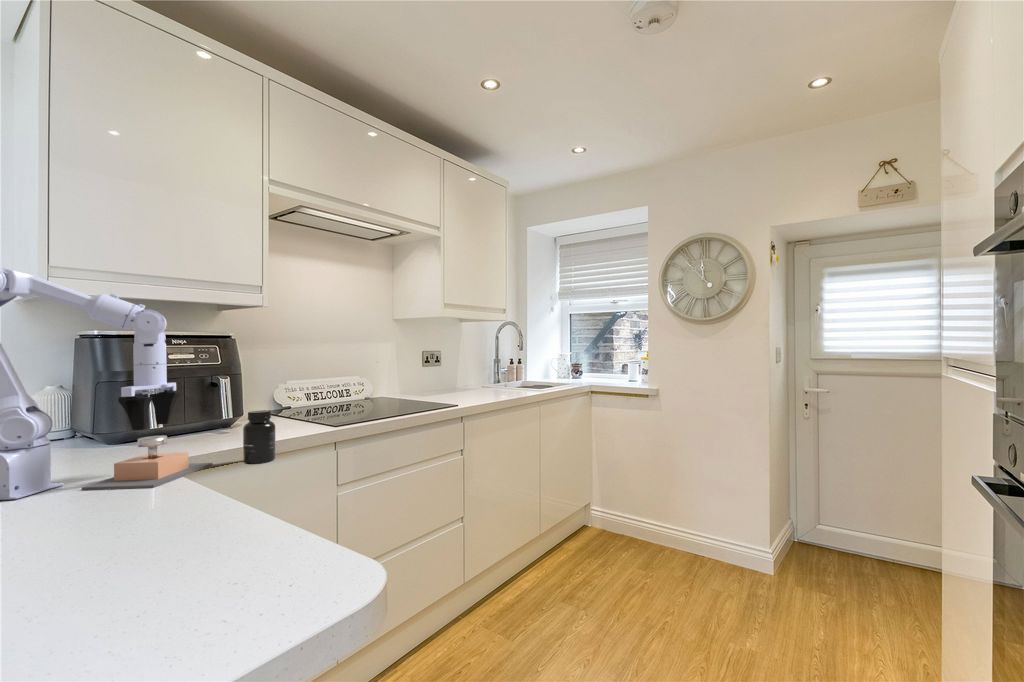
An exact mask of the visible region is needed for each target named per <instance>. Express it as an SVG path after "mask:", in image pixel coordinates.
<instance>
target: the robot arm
mask: <svg viewBox="0 0 1024 682" xmlns="http://www.w3.org/2000/svg"><path fill="white" fill-rule="evenodd" d="M17 297H19V298H23V299H26V298H34V297H40V298H45V299H48V300H52V301H54V302H58V303H61V304H64V305H68V306H72V307H74V308H78V309H80V310H83V311H86V313H87V314H88V315H87V316H89V318H90V319H91V320H94V321H97V322H101V323H104V324H106V325H108V326H109V325H110V326H113V327H116V328H119V329H123V330H126V331H128V330H131V329H132V331H133V332H134V333H133V336H134V338H133V340H134V342H133V345H132V348H133V349H132V350H133V351H132V353H133V359H132V360H133V385H130V386H123V387H120V394H121V395H120V396H118V399H117V401H118V403H119V404H120V405H121V407H122V408H123V409H124V412H125V413H126V414H127V418H128V420H129V423H130V426H131V429H132V431H143V430H146V428H147V424H148V423H147V422H148V412H149V408H150V404H151V402H152V405H153V408H154V409H153V410H154V415H155V417H154V418H155V421H156V422H155V423H156V425H168V424H169V423H170V420H171V415H172V412H173V409H174V407H175V404H176V402H177V400H178V399H179V397H180V395H181V392H180V391H177V382H168V378H167V377H168V375H167V374H168V372H167V371H168V370H167V368H168V367H167V362H168V361H167V343H166V340H167V339H166V334H165V330H166V329H167V326H168V325H167V324H168V323H167V320H166V318H165V316H164V315H163V314H161V313H160V312H159V311H156V310H154V309H149V308H148V309H145V308H146V305H144V304H142V303H139V304H136V303H132V302H129V301H127V300H123V299H120V296H119V295H117V294H114V293H110V295H109V294H106V293H101V294H97V295H95V296H93V295H92V296H91V295H89V294H86V293H83V292H80V291H79V290H75V289H72V288H69V287H66V286H64V285H61V284H58V283H55V282H53V281H50V280H47V279H44V278H41V277H39V276H37V275H32V274H30V273H25V272H21V271H18V270H13V269H9V268H5V267H4V268H2V269H0V308H1V307H3V306H4V305H6V304H8V303H9V302H11V301H13V300H14V299H16V298H17ZM144 395H149V396H144ZM53 425H54V421H53V419H52V417H51V415H49V414H48V412H45V411H44V410H42V409H41V408H40V407H39V405H38V403H37V401H35V399H33V397H31V396H30V395H29V394H28V393H27V390H26V389H25V387H24V385H23V383H22V381H21V379H20V377H19V375H18V374H17V371H16V370H15V368H14V366H13V363H12V362H11V360H10V358H9V357H8V354H7V352H6V351H5V349H4V347H3V345H2V343H1V342H0V501H3V500H18V499H21V498H25V497H28V496H31V495H34V494H38V493H42V492H44V491H47V490H51V489H55V488H57V487H61V486H63V485H65V484H64V482H52V476H51V475H52V468H51V466H52V463H51V460H52V457H51V456H52V455H51V452H52V451H51V449H52V448H51V440H50V439H49V438H48V437H47V435H49V434H50V432H51V431H52V430H53V429H52V428H53Z"/></svg>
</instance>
